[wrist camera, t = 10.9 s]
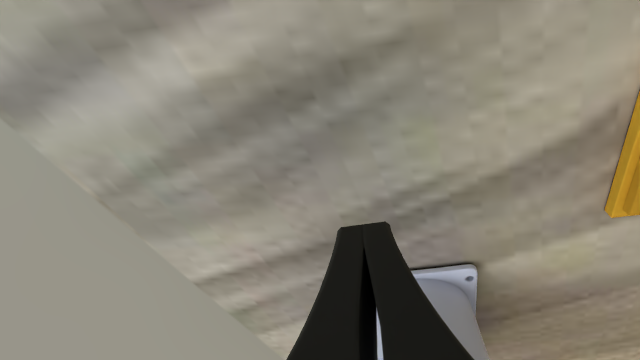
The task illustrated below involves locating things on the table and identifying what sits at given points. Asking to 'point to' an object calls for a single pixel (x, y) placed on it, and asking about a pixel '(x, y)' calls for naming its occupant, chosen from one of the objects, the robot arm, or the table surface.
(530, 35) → the table surface
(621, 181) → the tray
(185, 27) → the table surface
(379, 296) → the robot arm
